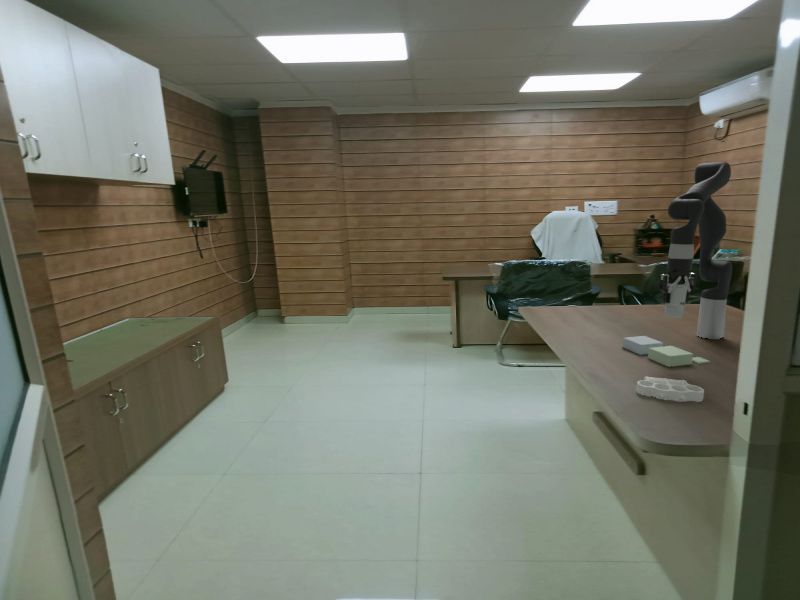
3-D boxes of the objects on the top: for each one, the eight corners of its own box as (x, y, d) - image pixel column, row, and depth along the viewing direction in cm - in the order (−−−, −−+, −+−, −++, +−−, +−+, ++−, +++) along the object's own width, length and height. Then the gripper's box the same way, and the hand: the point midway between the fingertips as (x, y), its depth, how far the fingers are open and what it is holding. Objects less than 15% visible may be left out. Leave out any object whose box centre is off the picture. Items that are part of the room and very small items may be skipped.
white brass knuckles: (695, 388, 147) (707, 407, 133) (632, 382, 153) (638, 400, 139) (696, 378, 146) (709, 397, 133) (633, 372, 152) (639, 389, 139)
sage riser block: (670, 355, 177) (671, 345, 176) (691, 364, 167) (693, 353, 167) (647, 358, 175) (648, 347, 174) (668, 366, 165) (669, 356, 164)
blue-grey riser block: (643, 345, 190) (644, 335, 189) (662, 352, 181) (663, 342, 180) (622, 347, 188) (623, 337, 187) (640, 354, 178) (641, 344, 178)
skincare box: (663, 317, 167) (667, 284, 165) (664, 314, 171) (667, 282, 169) (683, 318, 164) (687, 285, 162) (683, 316, 168) (687, 283, 166)
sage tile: (698, 358, 173) (698, 356, 173) (710, 362, 169) (710, 361, 168) (687, 359, 172) (687, 358, 172) (698, 364, 167) (698, 362, 167)
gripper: (688, 255, 168) (683, 299, 172) (655, 256, 165) (650, 301, 169) (706, 257, 161) (700, 303, 165) (671, 258, 158) (666, 305, 161)
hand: (675, 302), depth 167 cm, fingers closed on skincare box, 7 cm apart
